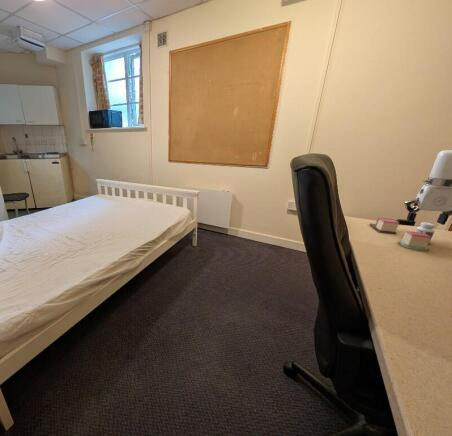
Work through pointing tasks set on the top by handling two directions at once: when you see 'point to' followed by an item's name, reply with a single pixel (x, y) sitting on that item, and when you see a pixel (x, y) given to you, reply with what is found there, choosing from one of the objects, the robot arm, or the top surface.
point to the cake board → (381, 230)
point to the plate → (413, 247)
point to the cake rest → (387, 225)
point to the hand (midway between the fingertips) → (424, 222)
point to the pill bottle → (426, 229)
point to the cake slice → (416, 239)
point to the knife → (400, 222)
